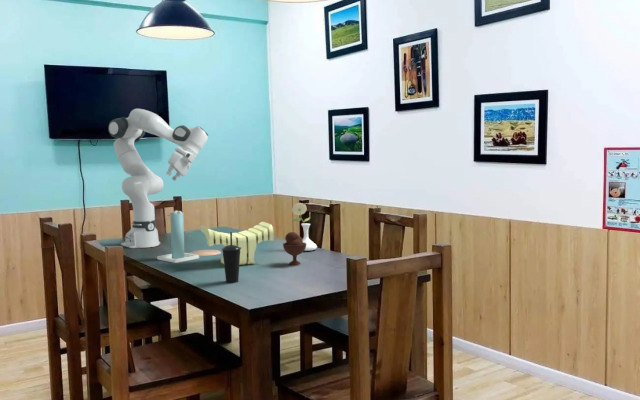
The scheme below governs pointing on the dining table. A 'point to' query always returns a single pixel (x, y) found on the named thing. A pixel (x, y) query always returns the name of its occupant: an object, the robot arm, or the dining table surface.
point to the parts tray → (169, 259)
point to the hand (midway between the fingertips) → (170, 177)
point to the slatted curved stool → (242, 240)
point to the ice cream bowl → (294, 246)
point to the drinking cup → (231, 261)
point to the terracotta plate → (205, 252)
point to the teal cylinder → (177, 235)
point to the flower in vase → (304, 225)
